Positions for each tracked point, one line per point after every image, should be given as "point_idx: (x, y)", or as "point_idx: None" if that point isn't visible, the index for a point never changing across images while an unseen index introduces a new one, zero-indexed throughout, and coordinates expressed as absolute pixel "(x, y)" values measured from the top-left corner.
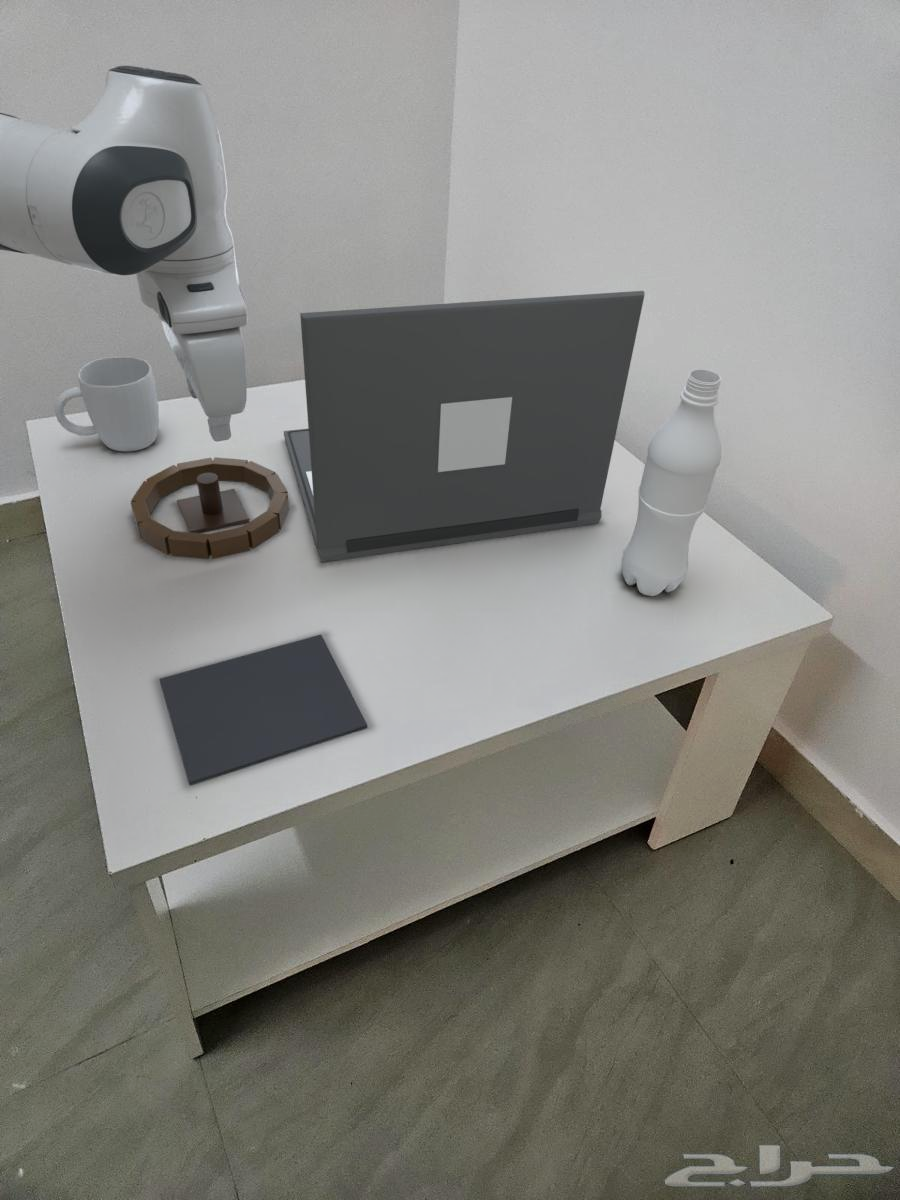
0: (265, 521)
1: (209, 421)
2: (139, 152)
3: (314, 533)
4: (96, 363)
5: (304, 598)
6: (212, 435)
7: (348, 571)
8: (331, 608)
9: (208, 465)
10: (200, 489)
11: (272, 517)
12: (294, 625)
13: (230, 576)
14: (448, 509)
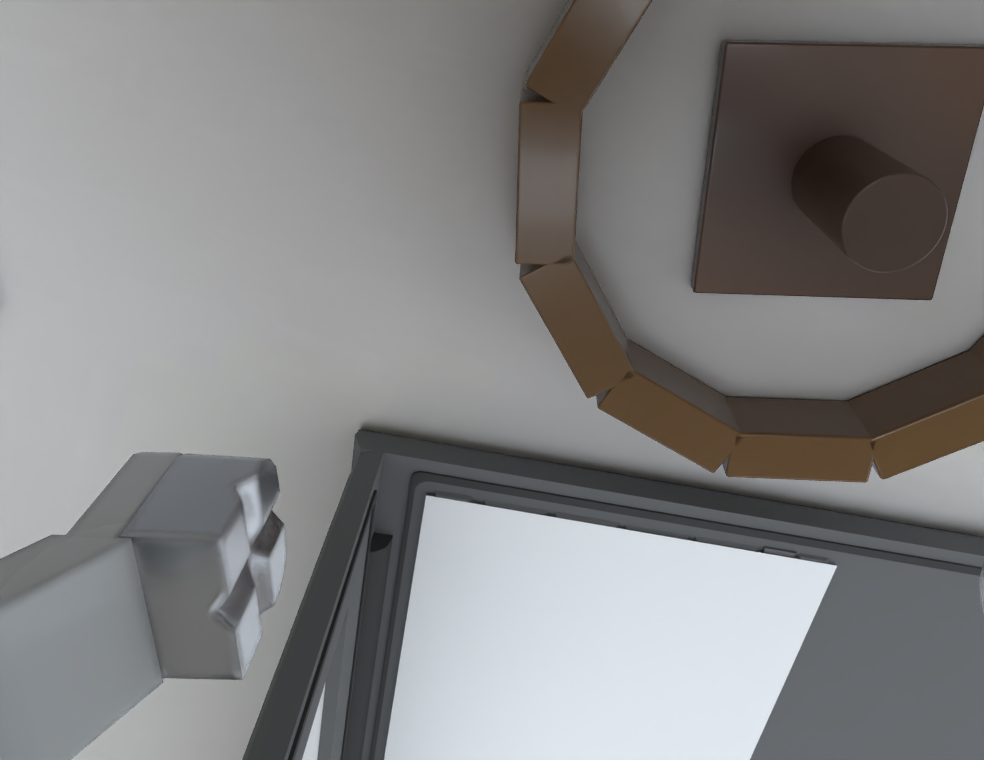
0: (565, 348)
1: (28, 564)
2: None
3: (455, 468)
4: None
5: (196, 322)
6: (119, 474)
7: (292, 480)
8: (128, 378)
9: None
10: (862, 168)
11: (581, 378)
12: (70, 251)
13: (391, 125)
14: None
